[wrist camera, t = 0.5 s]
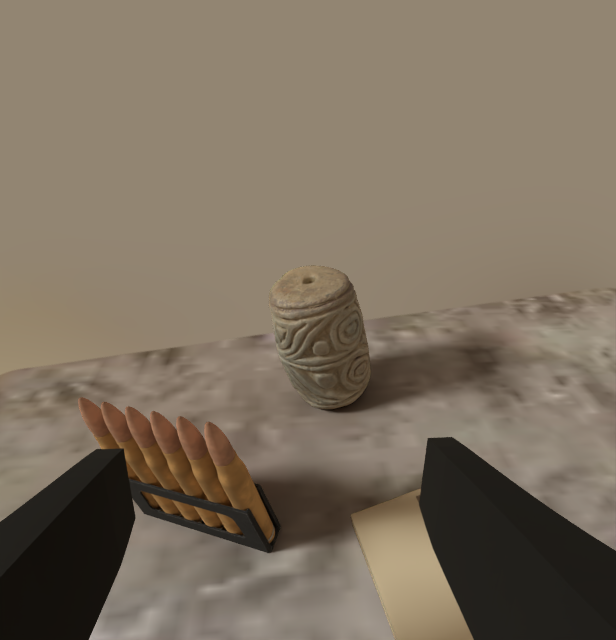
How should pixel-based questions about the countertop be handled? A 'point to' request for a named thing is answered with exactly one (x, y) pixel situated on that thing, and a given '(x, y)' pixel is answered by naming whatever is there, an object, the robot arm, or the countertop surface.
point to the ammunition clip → (186, 474)
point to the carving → (320, 335)
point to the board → (408, 571)
